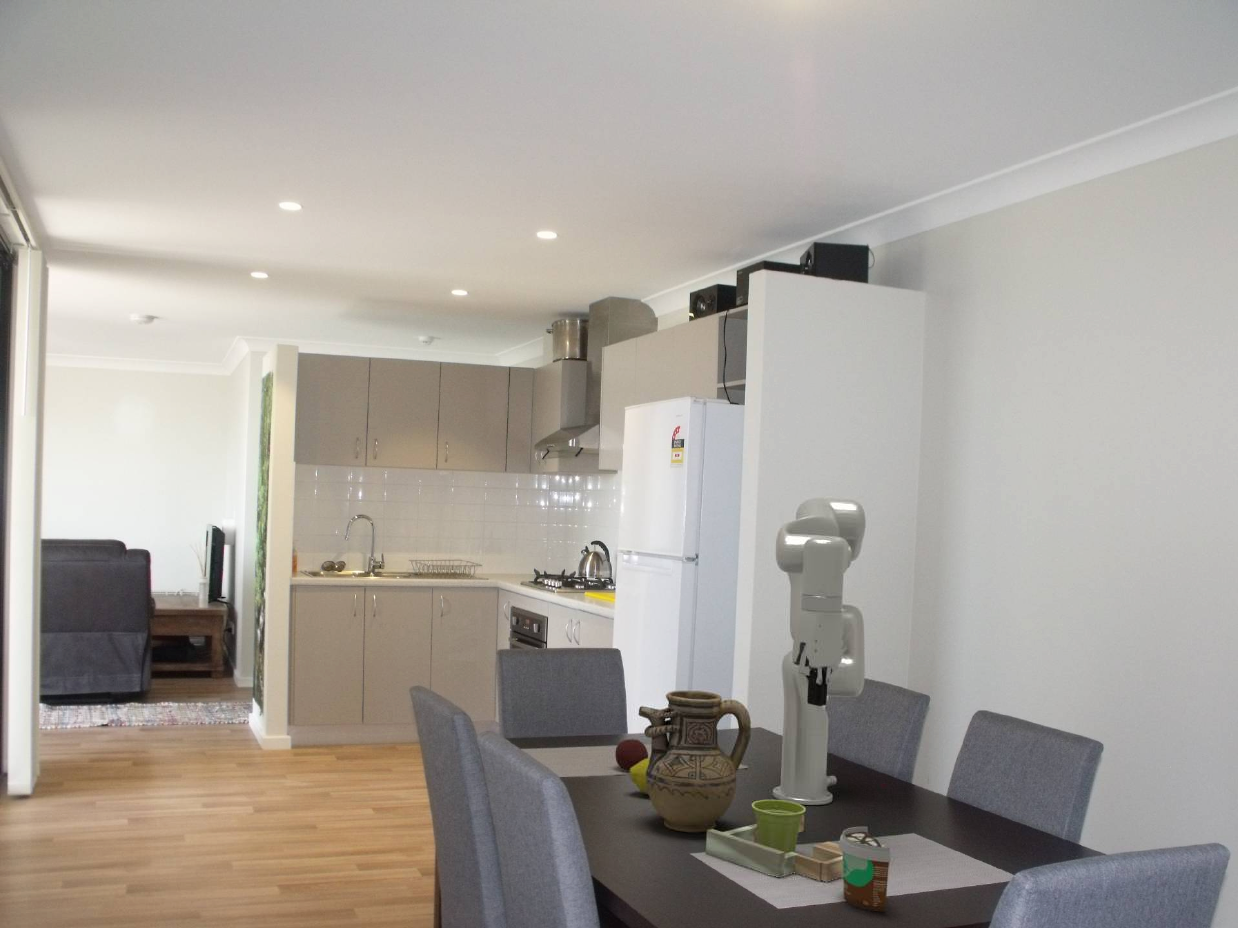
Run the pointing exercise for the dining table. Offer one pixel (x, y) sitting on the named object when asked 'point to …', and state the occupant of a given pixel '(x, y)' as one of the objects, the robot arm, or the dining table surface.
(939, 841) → the dining table surface
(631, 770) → the lemon
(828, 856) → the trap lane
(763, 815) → the plant pot
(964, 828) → the dining table surface
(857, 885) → the food container
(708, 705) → the decorative pitcher
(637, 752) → the dark red ball
